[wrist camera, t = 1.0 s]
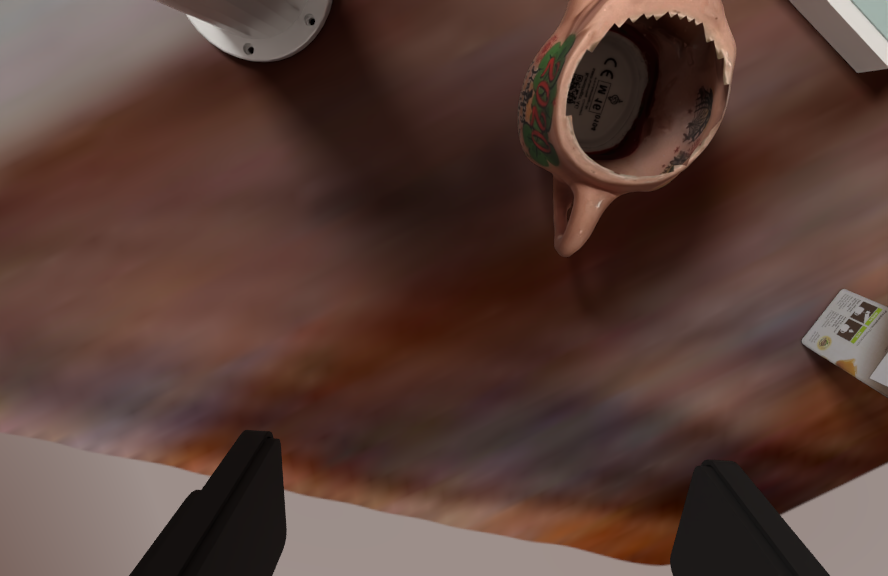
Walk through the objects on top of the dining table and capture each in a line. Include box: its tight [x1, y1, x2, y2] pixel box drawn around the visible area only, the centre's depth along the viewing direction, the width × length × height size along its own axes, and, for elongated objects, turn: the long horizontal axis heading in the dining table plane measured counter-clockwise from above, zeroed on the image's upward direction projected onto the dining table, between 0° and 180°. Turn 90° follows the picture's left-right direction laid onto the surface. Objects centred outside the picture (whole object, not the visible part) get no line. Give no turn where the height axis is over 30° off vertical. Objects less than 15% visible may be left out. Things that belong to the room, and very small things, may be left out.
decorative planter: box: [517, 0, 736, 257], centre depth 33 cm, size 20×12×14 cm, turn 171°
